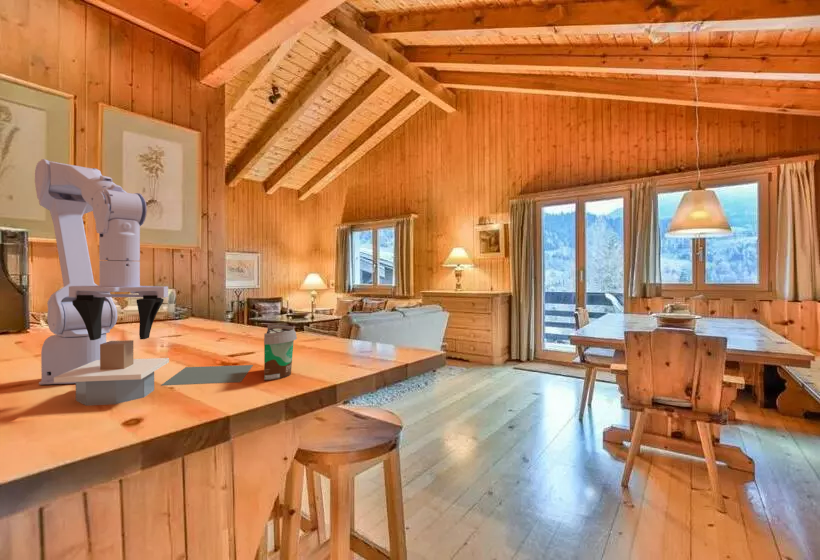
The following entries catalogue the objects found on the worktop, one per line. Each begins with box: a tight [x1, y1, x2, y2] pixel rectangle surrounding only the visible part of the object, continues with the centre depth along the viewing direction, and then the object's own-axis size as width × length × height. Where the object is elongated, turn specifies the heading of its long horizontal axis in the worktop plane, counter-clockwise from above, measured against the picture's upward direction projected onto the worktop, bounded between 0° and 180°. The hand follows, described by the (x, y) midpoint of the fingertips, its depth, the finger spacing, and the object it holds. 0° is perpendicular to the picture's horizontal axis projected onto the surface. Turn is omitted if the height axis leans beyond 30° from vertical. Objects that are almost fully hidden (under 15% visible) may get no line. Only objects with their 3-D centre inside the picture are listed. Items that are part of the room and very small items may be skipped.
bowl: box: [75, 371, 155, 407], centre depth 69 cm, size 10×10×4 cm
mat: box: [161, 364, 254, 386], centre depth 83 cm, size 14×14×1 cm
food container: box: [263, 324, 298, 382], centre depth 84 cm, size 12×6×10 cm, turn 16°
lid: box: [54, 339, 170, 383], centre depth 69 cm, size 12×12×5 cm
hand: (120, 338), depth 70 cm, fingers open, 7 cm apart
